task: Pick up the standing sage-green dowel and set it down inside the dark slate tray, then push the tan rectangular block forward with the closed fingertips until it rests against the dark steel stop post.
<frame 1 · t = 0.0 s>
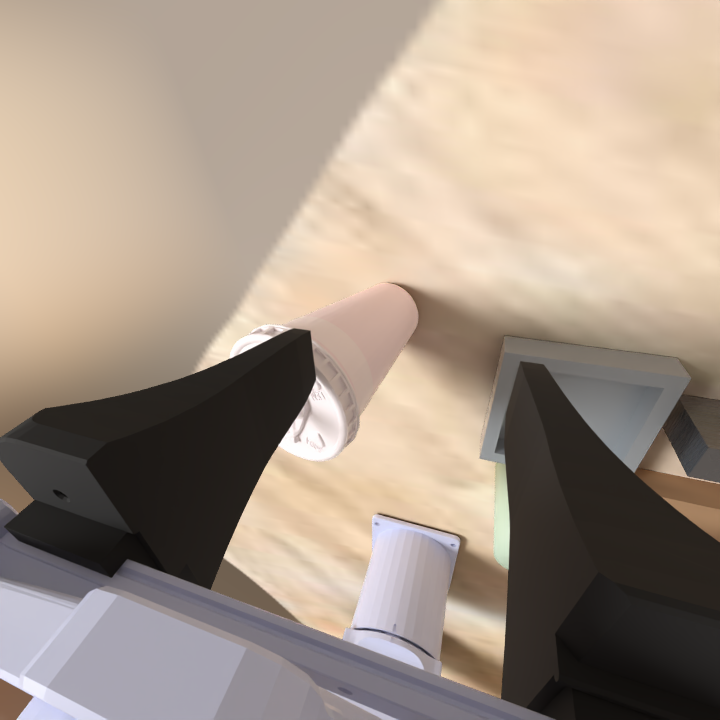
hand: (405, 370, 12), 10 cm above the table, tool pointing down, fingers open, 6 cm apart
sage dowel: (522, 471, 26), on the table
slate tray: (563, 404, 22), on the table
tan rectangular block: (658, 511, 25), on the table
smoothie: (391, 311, 22), on the table, touching gripper
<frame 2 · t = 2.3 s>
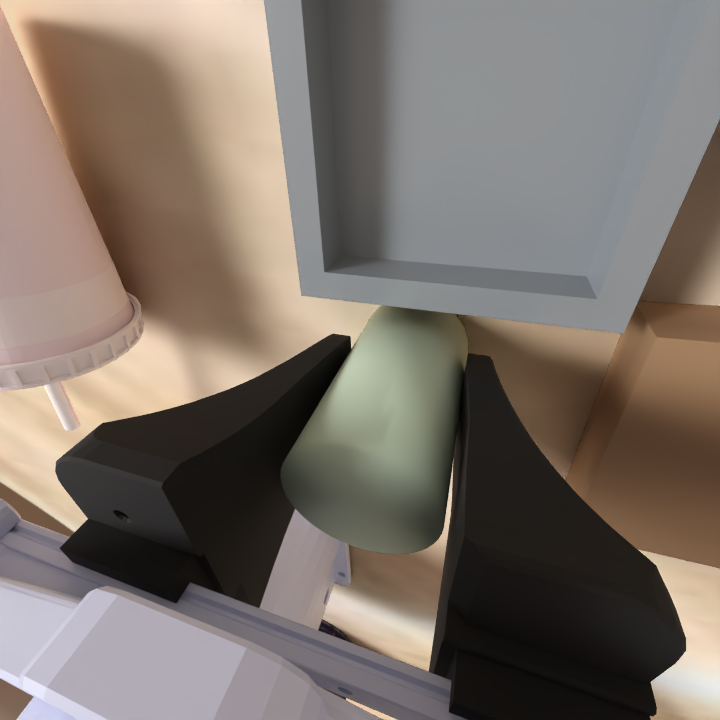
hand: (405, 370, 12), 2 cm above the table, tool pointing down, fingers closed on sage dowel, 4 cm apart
sage dowel: (414, 344, 13), on the table, touching gripper
slate tray: (472, 122, 9), on the table
storage jar: (307, 629, 34), on the table
tan rectangular block: (696, 417, 12), on the table
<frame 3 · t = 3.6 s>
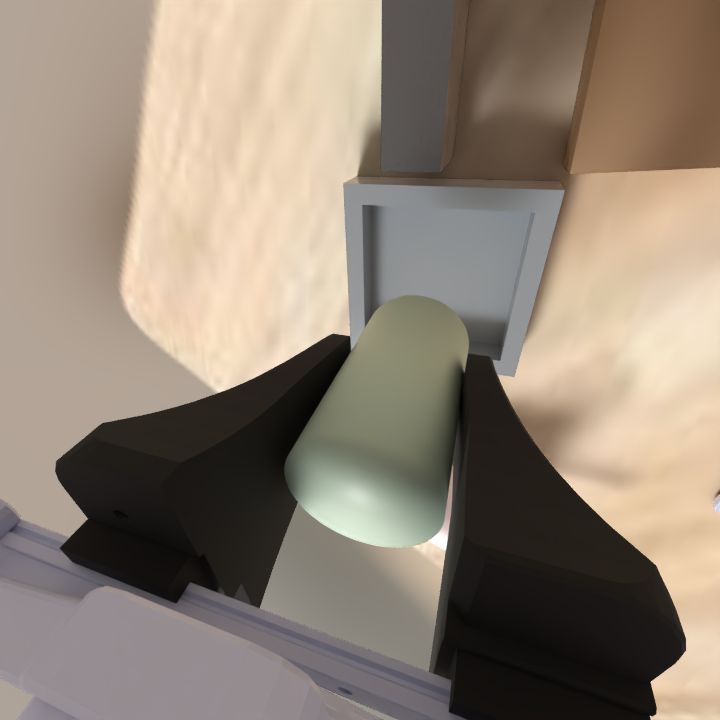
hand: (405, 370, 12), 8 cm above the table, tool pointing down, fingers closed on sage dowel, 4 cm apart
stop post: (435, 65, 14), on the table
sage dowel: (415, 342, 13), point 7 cm above the table, touching gripper
slate tray: (440, 273, 18), on the table
smoothie: (366, 475, 25), point 3 cm above the table
when the fingers open (3 cm above the table, at t = 4.8 s): sage dowel stays where it is, resting on slate tray.
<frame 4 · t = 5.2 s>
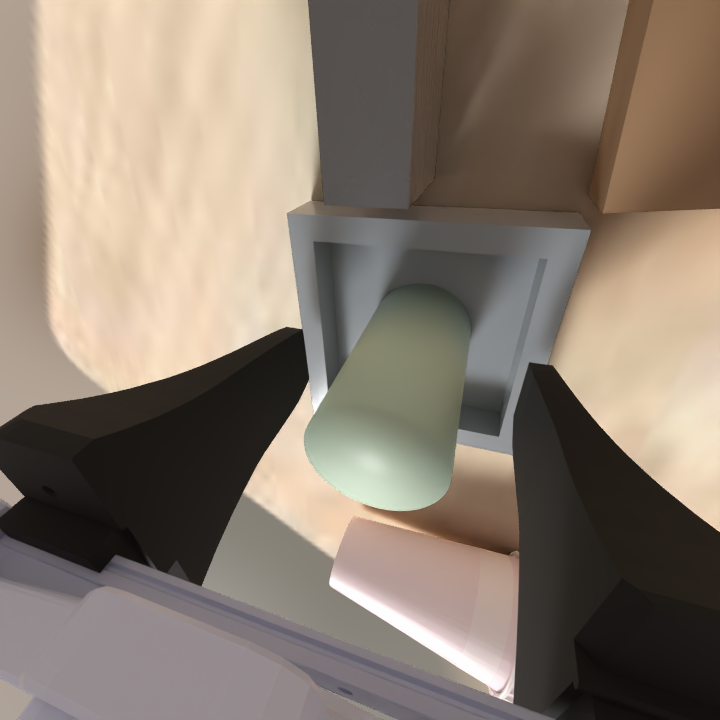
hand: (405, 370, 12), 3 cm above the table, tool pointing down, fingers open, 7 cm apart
stop post: (407, 52, 10), on the table
sage dowel: (421, 328, 14), resting on slate tray
slate tray: (422, 322, 14), on the table
smoothie: (340, 548, 21), point 3 cm above the table
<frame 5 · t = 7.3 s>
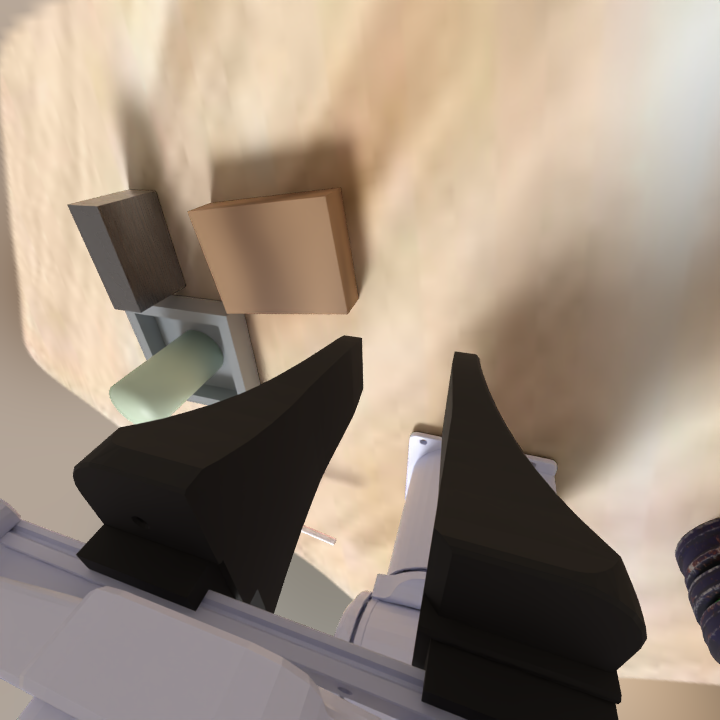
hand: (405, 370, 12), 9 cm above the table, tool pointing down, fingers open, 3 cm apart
stop post: (158, 240, 24), on the table
sage dowel: (202, 351, 28), resting on slate tray
slate tray: (205, 347, 28), on the table
tan rectangular block: (288, 249, 22), on the table
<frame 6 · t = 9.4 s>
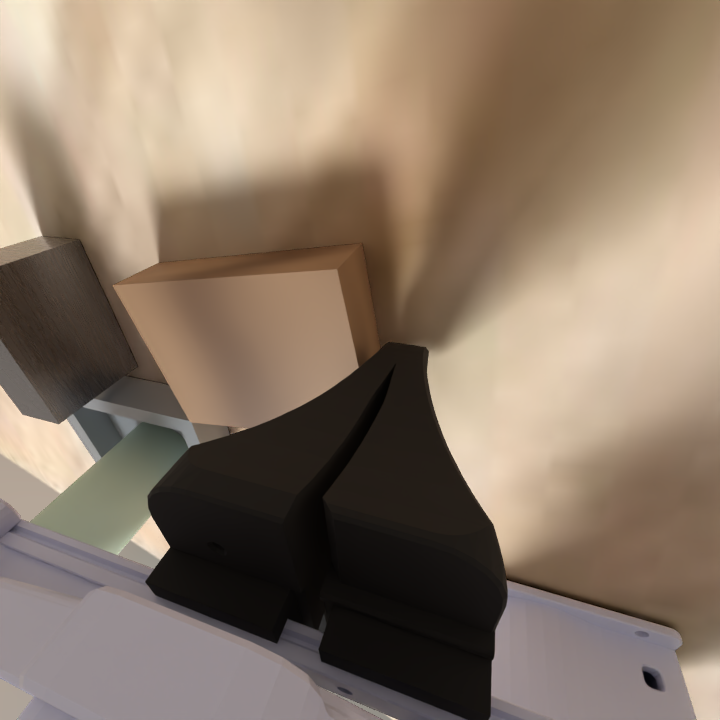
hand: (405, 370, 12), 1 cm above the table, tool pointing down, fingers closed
stop post: (93, 307, 16), on the table
sage dowel: (166, 445, 20), resting on slate tray
slate tray: (171, 439, 20), on the table
tan rectangular block: (279, 328, 14), on the table, touching gripper
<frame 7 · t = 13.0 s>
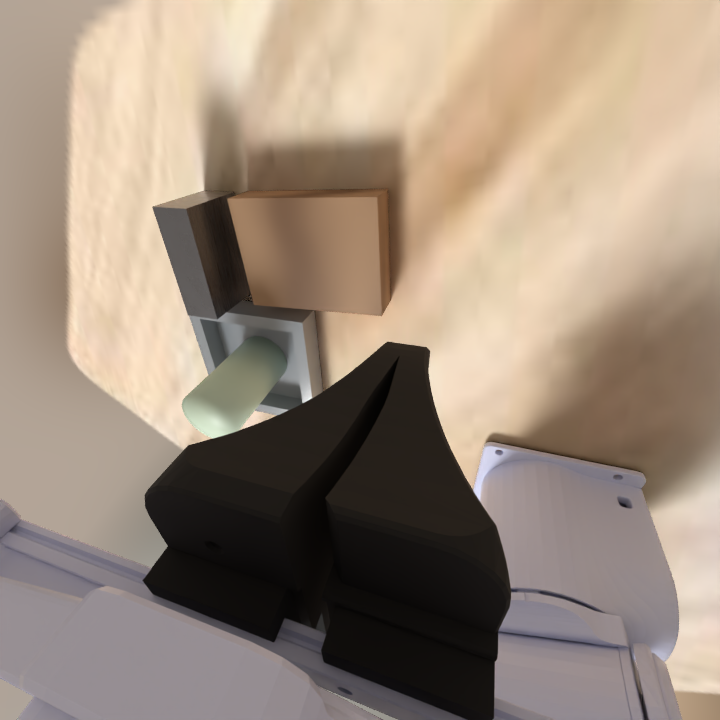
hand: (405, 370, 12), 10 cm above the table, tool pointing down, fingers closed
stop post: (230, 244, 23), on the table
sage dowel: (264, 357, 27), resting on slate tray
slate tray: (267, 354, 27), on the table
tan rectangular block: (323, 244, 21), on the table
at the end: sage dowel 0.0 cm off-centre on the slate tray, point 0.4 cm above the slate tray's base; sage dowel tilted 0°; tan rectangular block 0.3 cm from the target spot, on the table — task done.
